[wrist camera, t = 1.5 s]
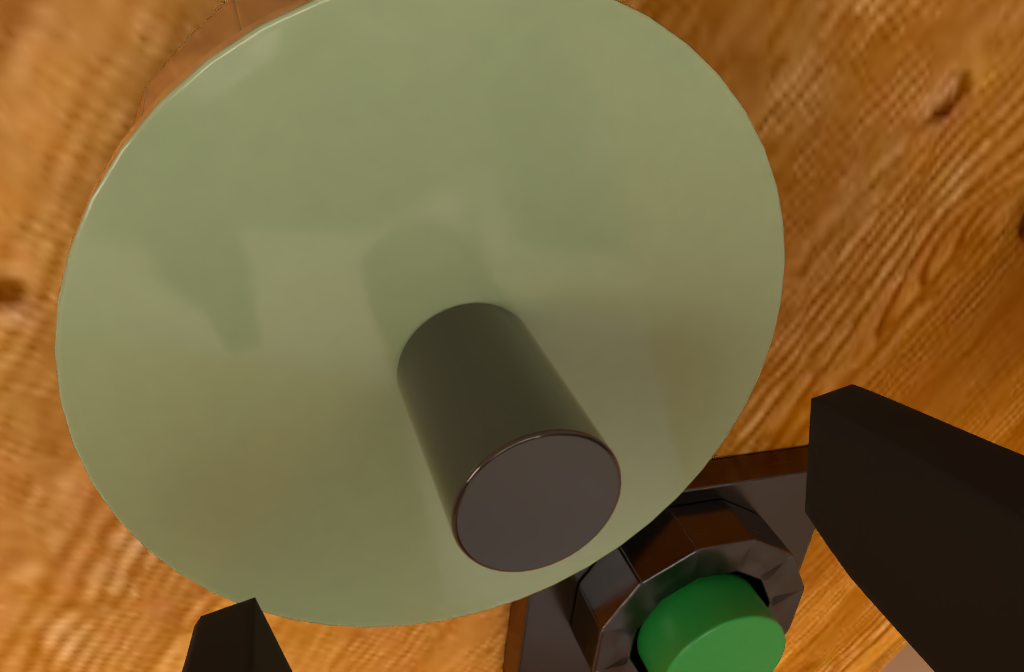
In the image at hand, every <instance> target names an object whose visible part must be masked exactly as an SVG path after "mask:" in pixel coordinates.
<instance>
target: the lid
mask: <svg viewBox="0 0 1024 672" xmlns="http://www.w3.org/2000/svg"><path fill="white" fill-rule="evenodd" d="M784 268H785V250H784V224H783V218H782V212H781V207H780V201H779V195H778V190H777V185H776V182H775V179H774V176H773V173H772V170H771V167H770V164H769V161H768V158H767V155H766V152H765V149H764V146H763V144H762V142H761V140H760V138H759V136H758V134H757V132H756V130H755V129H754V127H753V125H752V123H751V121H750V119H749V117H748V115H747V113H746V111H745V109H744V108H743V106H742V105H741V104H740V102H739V101H738V100H737V98H736V97H735V96H734V94H733V93H732V91H731V90H730V89H729V87H728V86H727V85H726V83H725V82H724V80H723V79H722V78H721V76H720V75H719V74H718V73H717V72H716V71H715V70H714V69H713V68H712V67H711V66H710V65H709V64H708V63H707V62H706V61H705V60H704V59H703V58H702V57H701V56H700V55H699V54H698V53H697V52H696V51H695V50H694V49H693V48H692V47H691V46H690V45H689V44H688V43H686V42H685V41H683V40H682V39H681V38H679V37H678V36H676V35H675V34H673V33H672V32H671V31H669V30H668V29H666V28H665V27H664V26H662V25H661V24H659V23H658V22H657V21H655V20H654V19H652V18H651V17H649V16H648V15H646V14H644V13H642V12H640V11H638V10H636V9H634V8H631V7H629V6H627V5H625V4H623V3H621V2H619V1H617V0H299V1H297V2H295V3H292V4H290V5H288V6H286V7H284V8H282V9H279V10H277V11H275V12H273V13H271V14H269V15H267V16H264V17H262V18H260V19H258V20H257V21H255V22H254V23H252V24H250V25H249V26H247V27H246V28H244V29H243V30H241V31H240V32H238V33H237V34H235V35H234V36H232V37H231V38H229V39H227V40H226V41H224V42H223V43H221V44H220V45H218V46H217V47H215V48H214V49H212V50H211V51H209V52H208V53H206V54H205V55H204V56H203V57H202V58H201V59H199V60H198V61H197V62H196V63H195V64H194V65H193V66H191V67H190V68H189V69H188V70H187V71H186V72H185V73H184V74H182V75H181V76H180V77H179V78H178V79H177V80H176V81H174V82H173V83H172V84H171V85H170V86H169V87H168V88H167V89H165V90H164V91H163V92H162V93H161V94H160V95H159V96H158V98H157V99H156V100H155V101H154V102H153V104H152V105H151V106H150V107H149V108H148V109H147V111H146V112H145V113H144V114H143V115H142V117H141V118H140V119H139V120H138V121H137V123H136V124H135V125H134V126H133V127H132V129H131V130H130V131H129V132H128V133H127V134H126V136H125V137H124V138H123V139H122V141H121V143H120V144H119V146H118V148H117V149H116V151H115V153H114V154H113V156H112V157H111V159H110V161H109V162H108V164H107V166H106V167H105V169H104V171H103V172H102V174H101V176H100V177H99V179H98V180H97V182H96V184H95V185H94V187H93V189H92V192H91V194H90V197H89V199H88V201H87V204H86V206H85V209H84V211H83V214H82V216H81V218H80V221H79V223H78V226H77V228H76V231H75V233H74V236H73V238H72V241H71V244H70V248H69V252H68V256H67V260H66V265H65V269H64V273H63V278H62V282H61V286H60V291H59V295H58V299H57V312H56V329H55V346H54V354H55V363H56V372H57V380H58V389H59V398H60V402H61V405H62V409H63V412H64V416H65V419H66V422H67V426H68V429H69V433H70V436H71V440H72V443H73V445H74V447H75V449H76V451H77V453H78V455H79V457H80V459H81V461H82V463H83V466H84V468H85V470H86V472H87V474H88V476H89V478H90V480H91V482H92V484H93V485H94V487H95V488H96V489H97V491H98V492H99V494H100V495H101V496H102V498H103V499H104V501H105V502H106V503H107V505H108V506H109V508H110V509H111V510H112V512H113V513H114V515H115V516H116V517H117V519H118V520H119V521H120V522H121V523H122V524H123V525H124V526H125V527H126V528H127V529H128V530H129V531H130V532H131V533H132V534H133V535H134V536H135V537H136V538H137V539H138V540H139V541H140V542H141V544H142V545H143V546H144V547H145V548H146V549H147V550H149V551H150V552H151V553H153V554H154V555H155V556H157V557H158V558H159V559H161V560H162V561H163V562H165V563H166V564H167V565H169V566H170V567H171V568H172V569H174V570H175V571H176V572H178V573H179V574H181V575H182V576H184V577H186V578H188V579H190V580H191V581H193V582H195V583H197V584H198V585H200V586H202V587H204V588H206V589H207V590H209V591H211V592H213V593H214V594H217V595H219V596H222V597H224V598H226V599H229V600H231V601H234V602H236V603H240V602H243V601H246V600H248V599H251V598H254V597H255V598H256V600H257V602H258V604H259V606H260V608H261V610H262V612H265V613H269V614H273V615H276V616H280V617H284V618H287V619H291V620H298V621H304V622H310V623H317V624H323V625H330V626H349V627H368V628H369V627H390V626H409V625H416V624H423V623H430V622H437V621H444V620H449V619H453V618H458V617H462V616H466V615H470V614H475V613H479V612H483V611H486V610H489V609H492V608H495V607H498V606H501V605H504V604H508V603H511V602H514V601H517V600H520V599H522V598H524V597H527V596H529V595H531V594H534V593H536V592H538V591H541V590H543V589H545V588H548V587H550V586H552V585H555V584H557V583H559V582H560V581H562V580H564V579H566V578H568V577H570V576H572V575H574V574H575V573H577V572H579V571H581V570H583V569H585V568H587V567H589V566H590V565H592V564H593V563H595V562H596V561H598V560H599V559H601V558H602V557H604V556H606V555H607V554H609V553H610V552H612V551H613V550H615V549H616V548H618V547H619V546H621V545H622V544H623V543H625V542H626V541H627V540H629V539H630V538H631V537H632V536H634V535H635V534H636V533H638V532H639V531H640V530H642V529H643V528H644V527H645V526H647V525H648V524H649V523H650V522H652V521H653V520H654V519H655V518H656V517H657V516H658V515H659V514H660V513H661V512H662V511H663V510H664V509H666V508H667V507H668V506H669V505H670V504H671V503H672V502H673V501H674V500H675V499H676V498H677V497H678V496H679V495H680V494H681V493H682V492H683V491H684V490H685V489H686V488H687V486H688V485H689V484H690V483H691V482H692V481H693V480H694V479H695V478H696V476H697V475H698V474H699V473H700V472H701V471H702V470H703V469H704V467H705V466H706V464H707V463H708V462H709V460H710V459H711V458H712V456H713V455H714V454H715V452H716V451H717V450H718V448H719V447H720V446H721V444H722V443H723V442H724V440H725V439H726V437H727V436H728V434H729V432H730V431H731V429H732V427H733V426H734V424H735V422H736V421H737V419H738V417H739V416H740V414H741V413H742V411H743V409H744V408H745V406H746V403H747V401H748V399H749V397H750V395H751V393H752V391H753V389H754V387H755V384H756V382H757V380H758V378H759V376H760V374H761V371H762V368H763V365H764V362H765V360H766V357H767V354H768V351H769V348H770V345H771V342H772V339H773V336H774V331H775V327H776V322H777V318H778V313H779V309H780V304H781V299H782V288H783V278H784Z"/></svg>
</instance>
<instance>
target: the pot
mask: <svg viewBox="0 0 1024 672" xmlns="http://www.w3.org/2000/svg"><path fill="white" fill-rule="evenodd" d="M297 1H299V0H228V1H227V2H226V3H225V4H224V5H223V6H222V7H221V8H220V9H219V10H218V11H217V12H216V13H215V14H214V15H213V16H211V17H210V18H209V19H208V20H207V21H206V22H205V23H203V24H202V25H201V26H200V27H199V28H198V29H197V30H196V31H194V32H193V33H192V34H191V35H190V36H189V37H188V38H187V39H186V40H185V42H184V43H183V44H182V45H181V46H180V48H179V49H178V50H177V51H176V52H175V54H174V55H173V56H172V57H171V58H170V60H169V61H168V62H167V63H166V64H165V66H164V67H163V68H162V69H161V70H160V71H159V72H158V73H157V74H156V75H155V76H154V77H153V78H152V79H151V80H150V81H149V84H148V86H146V87H145V89H144V92H143V95H142V98H141V101H140V104H139V108H138V111H137V114H136V117H135V120H134V123H133V126H134V125H135V124H136V123H137V121H138V120H139V119H140V118H141V117H142V115H143V114H144V113H145V112H146V111H147V109H148V108H149V107H150V106H151V105H152V104H153V102H154V101H155V100H156V99H157V98H158V96H159V95H160V94H161V93H162V92H163V91H164V90H165V89H167V88H168V87H169V86H170V85H171V84H172V83H173V82H174V81H176V80H177V79H178V78H179V77H180V76H181V75H182V74H184V73H185V72H186V71H187V70H188V69H189V68H190V67H191V66H193V65H194V64H195V63H196V62H197V61H198V60H199V59H201V58H202V57H203V56H204V55H205V54H206V53H208V52H209V51H211V50H212V49H214V48H215V47H217V46H218V45H220V44H221V43H223V42H224V41H226V40H227V39H229V38H231V37H232V36H234V35H235V34H237V33H238V32H240V31H241V30H243V29H244V28H246V27H247V26H249V25H250V24H252V23H254V22H255V21H257V20H258V19H260V18H262V17H264V16H267V15H269V14H271V13H273V12H275V11H277V10H279V9H282V8H284V7H286V6H288V5H290V4H292V3H295V2H297ZM133 126H132V127H133ZM131 129H132V128H131Z"/></svg>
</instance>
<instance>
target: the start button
mask: <svg viewBox="0 0 1024 672" xmlns="http://www.w3.org/2000/svg"><path fill="white" fill-rule="evenodd" d="M784 648H785V634H784V630H783V628H782V626H781V625H780V623H779V622H778V621H777V619H776V618H775V617H774V615H773V614H772V613H771V611H770V610H769V609H768V607H767V606H766V605H765V603H764V602H763V601H762V599H761V598H760V597H759V595H758V594H757V593H756V591H755V590H754V589H753V587H752V586H751V585H750V584H749V583H748V582H747V581H746V580H745V579H743V578H741V577H739V576H737V575H733V574H726V573H725V574H720V575H714V576H709V577H704V578H699V579H697V580H695V581H693V582H692V583H690V584H688V585H687V586H685V587H683V588H681V589H680V590H678V591H676V592H675V593H673V594H671V595H670V596H668V597H666V598H665V599H663V600H662V601H661V602H660V603H659V604H658V606H657V607H656V608H655V609H654V610H653V611H652V613H651V614H650V615H649V616H648V617H647V618H646V620H645V621H644V622H643V623H642V625H641V627H640V629H639V632H638V637H637V649H638V653H639V655H640V657H641V659H642V661H643V663H644V665H645V667H646V668H647V670H648V672H773V670H774V669H775V668H776V666H777V664H778V663H779V661H780V659H781V657H782V655H783V652H784Z"/></svg>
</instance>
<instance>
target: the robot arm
mask: <svg viewBox="0 0 1024 672" xmlns="http://www.w3.org/2000/svg"><path fill="white" fill-rule="evenodd" d="M805 513H806V514H807V516H808V517H809V519H810V520H811V522H812V523H813V525H814V526H815V528H816V529H817V530H818V532H819V533H820V535H821V536H822V538H823V539H824V541H825V542H826V544H827V545H828V547H829V548H830V550H831V551H832V552H833V554H834V555H835V557H836V558H837V559H838V561H839V562H840V564H841V565H842V566H843V568H844V569H845V571H846V572H847V573H848V575H849V576H850V577H851V579H852V580H853V581H854V582H855V583H856V584H857V585H858V587H859V588H860V589H861V590H862V591H863V592H864V594H865V595H866V596H867V597H868V598H869V599H870V600H871V601H872V603H873V604H874V605H875V606H876V607H877V608H878V609H879V610H880V612H881V613H882V614H883V615H884V616H885V617H886V618H887V619H888V621H889V622H890V623H891V624H892V625H893V626H894V627H895V628H896V630H897V631H898V632H899V633H900V634H901V635H902V636H903V637H904V638H905V639H906V641H907V642H908V643H909V644H910V645H911V646H912V647H913V648H914V649H915V651H916V652H917V653H918V654H919V655H920V656H921V657H922V658H923V659H924V660H925V662H926V663H927V664H928V665H929V666H930V667H931V668H932V669H933V670H934V672H1024V455H1021V454H1019V453H1016V452H1014V451H1011V450H1009V449H1007V448H1004V447H1002V446H999V445H997V444H995V443H992V442H990V441H987V440H985V439H983V438H980V437H978V436H976V435H973V434H971V433H968V432H966V431H964V430H961V429H959V428H957V427H954V426H952V425H950V424H947V423H945V422H943V421H940V420H938V419H936V418H933V417H931V416H929V415H926V414H924V413H922V412H919V411H917V410H915V409H912V408H910V407H908V406H905V405H903V404H901V403H898V402H896V401H893V400H891V399H889V398H886V397H884V396H881V395H879V394H876V393H874V392H872V391H869V390H866V389H864V388H861V387H859V386H856V385H853V384H851V385H849V386H846V387H843V388H840V389H837V390H835V391H832V392H829V393H826V394H823V395H821V396H818V397H815V398H812V399H811V414H810V431H809V448H808V464H807V481H806V498H805ZM182 672H292V670H291V668H290V666H289V664H288V662H287V660H286V658H285V656H284V654H283V652H282V650H281V648H280V646H279V644H278V642H277V640H276V638H275V636H274V634H273V632H272V630H271V628H270V626H269V624H268V622H267V620H266V618H265V616H264V614H263V612H262V610H261V608H260V606H259V604H258V602H257V600H256V598H255V597H254V598H251V599H248V600H246V601H243V602H240V603H237V604H234V605H232V606H229V607H226V608H223V609H220V610H218V611H215V612H212V613H209V614H206V615H204V616H201V617H200V619H199V620H198V622H197V623H196V625H195V627H194V630H193V634H192V638H191V642H190V645H189V649H188V653H187V656H186V660H185V663H184V667H183V670H182Z"/></svg>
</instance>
